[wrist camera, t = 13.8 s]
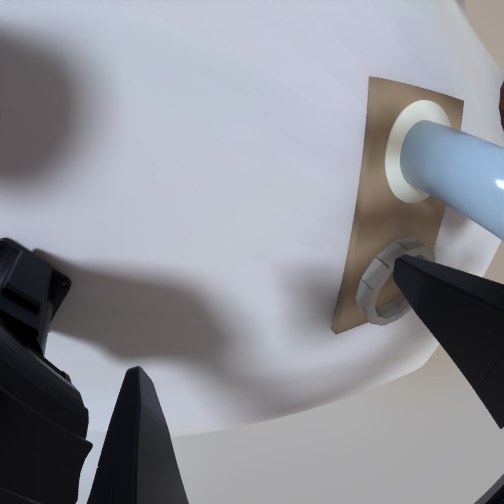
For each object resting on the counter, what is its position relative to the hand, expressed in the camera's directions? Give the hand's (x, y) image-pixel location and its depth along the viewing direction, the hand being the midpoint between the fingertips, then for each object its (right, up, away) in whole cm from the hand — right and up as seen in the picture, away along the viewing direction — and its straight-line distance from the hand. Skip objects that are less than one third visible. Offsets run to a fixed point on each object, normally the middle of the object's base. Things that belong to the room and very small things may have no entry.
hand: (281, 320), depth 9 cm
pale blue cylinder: (+16, +11, +15) cm, 24 cm away
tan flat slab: (+14, +6, +19) cm, 24 cm away
